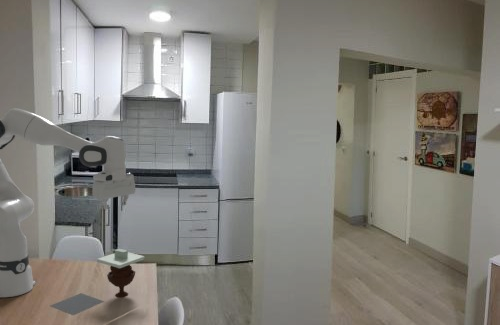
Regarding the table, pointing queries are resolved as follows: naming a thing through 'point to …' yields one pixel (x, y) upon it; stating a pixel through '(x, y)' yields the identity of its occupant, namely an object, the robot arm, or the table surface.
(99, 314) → the table surface
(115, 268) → the ice cream bowl
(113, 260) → the lid
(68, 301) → the mat
